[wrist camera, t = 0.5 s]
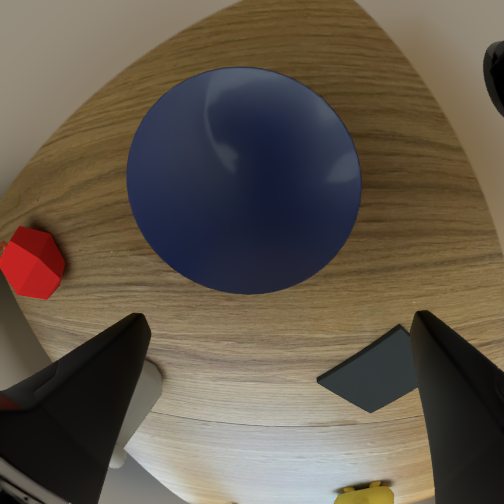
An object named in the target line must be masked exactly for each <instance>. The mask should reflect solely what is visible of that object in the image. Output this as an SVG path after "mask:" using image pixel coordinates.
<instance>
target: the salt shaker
mask: <svg viewBox="0 0 504 504" xmlns="http://www.w3.org/2000/svg"><path fill="white" fill-rule="evenodd" d="M161 395H162V379H161V374H160V373H159V371H158V369H157V367H156V366H155V365H154V364H152V363H150V362H148V361H146V360H145V361H144V365H143V368H142V372H141V375H140V378H139V380H138V383H137V386H136V388H135V391H134V394H133V396H132V399H131V402H130V405H129V407H128V410H127V413H126V416H125V419H124V422H123V424H122V427H121V430H120V433H119V436H118V439H117V442H116V445H115V448H114V451H113V454H112V457H111V461H110V464H109V467H111V468H120V467H121V466H122V465H123V463H124V462H125V460H126V457H127V453H126V451H125V450H124V449H123V448H124V447H125V445H126V444H127V442H128V441H129V440H130V438H131V437H132V435H133V434H134V433H135V431H136V430H137V428H138V427H139V426H140V424H141V423H142V421H143V420H144V419H145V417H146V416H147V414H148V413H149V412H150V410H151V409H152V407H153V406H154V404H155V403H156V402H157V400H158V399H159V397H160V396H161Z"/></svg>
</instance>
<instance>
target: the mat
mask: <svg viewBox="0 0 504 504" xmlns="http://www.w3.org/2000/svg"><path fill="white" fill-rule="evenodd" d="M317 383H318V384H320V385H322V386H323V387H325V388H327V389H328V390H330V391H332V392H333V393H335V394H337V395H339V396H340V397H342V398H344V399H346V400H347V401H349V402H351V403H353V404H354V405H356V406H358V407H360V408H362V409H363V410H365V411H367V412H369V413H372V412H374V411H376V410H378V409H380V408H382V407H384V406H386V405H388V404H389V403H391V402H393V401H395V400H397V399H398V398H400V397H402V396H404V395H405V394H407V393H409V392H411V391H412V390H414V389H416V388H417V387H418V385H417V380H416V375H415V368H414V361H413V354H412V347H411V341H410V334H409V333H408V332H407V331H406V330H405V329H404V328H403V327H402V326H401V325H398V326H397V327H395V328H394V329H392V330H391V331H390V332H388V333H387V334H385V335H384V336H383V337H381V338H380V339H378V340H377V341H375V342H374V343H372V344H371V345H370V346H368V347H367V348H365V349H364V350H362V351H360V352H359V353H357V354H356V355H354V356H353V357H351V358H350V359H348V360H346V361H345V362H343V363H342V364H340V365H338V366H337V367H335V368H333V369H332V370H330V371H328V372H327V373H325V374H323V375H322V376H320V377H318V378H317Z"/></svg>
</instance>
